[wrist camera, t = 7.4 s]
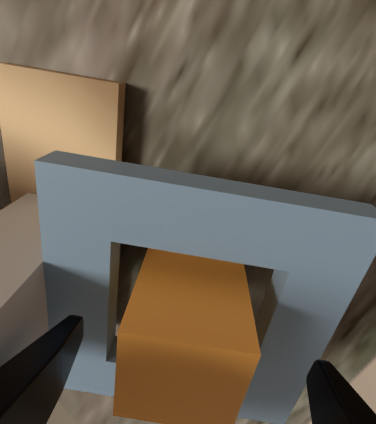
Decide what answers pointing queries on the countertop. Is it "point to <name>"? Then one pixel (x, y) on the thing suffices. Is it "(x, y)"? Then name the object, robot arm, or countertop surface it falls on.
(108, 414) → the countertop surface
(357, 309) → the countertop surface
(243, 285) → the orange square post
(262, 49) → the countertop surface
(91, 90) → the board
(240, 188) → the bracket
